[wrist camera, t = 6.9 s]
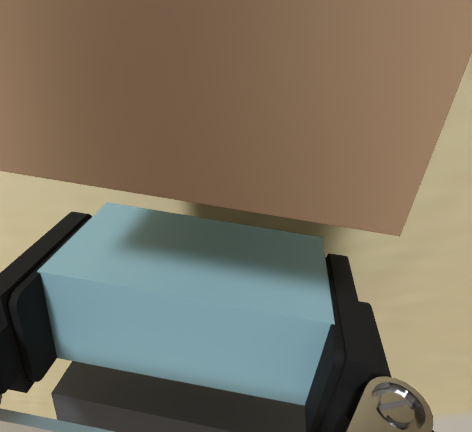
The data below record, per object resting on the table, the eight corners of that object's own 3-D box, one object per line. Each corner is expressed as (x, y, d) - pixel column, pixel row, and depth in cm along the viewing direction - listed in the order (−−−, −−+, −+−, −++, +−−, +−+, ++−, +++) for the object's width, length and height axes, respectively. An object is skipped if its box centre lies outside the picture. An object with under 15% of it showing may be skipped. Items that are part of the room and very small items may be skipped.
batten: (322, 237, 11) (334, 324, 8) (303, 308, 13) (307, 405, 9) (106, 202, 12) (36, 271, 8) (112, 275, 13) (54, 357, 10)
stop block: (324, 306, 18) (339, 454, 12) (311, 348, 19) (319, 498, 13) (131, 271, 19) (51, 393, 13) (133, 313, 20) (62, 441, 14)
